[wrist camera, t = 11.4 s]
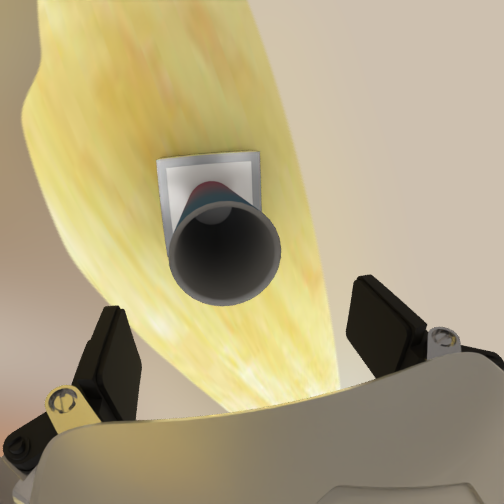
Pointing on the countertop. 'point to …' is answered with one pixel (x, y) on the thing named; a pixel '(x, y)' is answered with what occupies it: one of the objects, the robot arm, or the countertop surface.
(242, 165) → the riser
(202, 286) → the cup
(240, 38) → the countertop surface
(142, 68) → the countertop surface
